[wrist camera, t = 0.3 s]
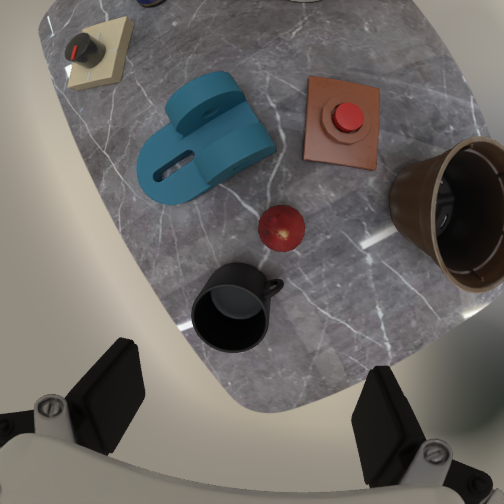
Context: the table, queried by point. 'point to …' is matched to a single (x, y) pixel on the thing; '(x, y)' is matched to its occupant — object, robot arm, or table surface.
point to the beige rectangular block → (112, 64)
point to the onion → (281, 228)
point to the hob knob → (85, 50)
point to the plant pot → (456, 211)
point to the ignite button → (348, 117)
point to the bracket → (202, 140)
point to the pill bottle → (149, 2)
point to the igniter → (329, 135)
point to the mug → (234, 308)
